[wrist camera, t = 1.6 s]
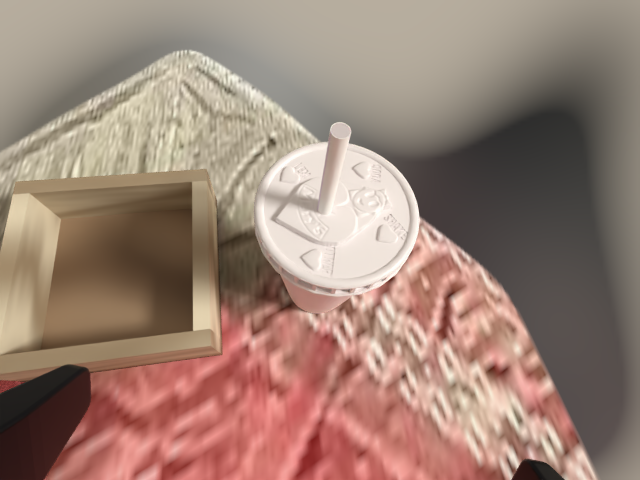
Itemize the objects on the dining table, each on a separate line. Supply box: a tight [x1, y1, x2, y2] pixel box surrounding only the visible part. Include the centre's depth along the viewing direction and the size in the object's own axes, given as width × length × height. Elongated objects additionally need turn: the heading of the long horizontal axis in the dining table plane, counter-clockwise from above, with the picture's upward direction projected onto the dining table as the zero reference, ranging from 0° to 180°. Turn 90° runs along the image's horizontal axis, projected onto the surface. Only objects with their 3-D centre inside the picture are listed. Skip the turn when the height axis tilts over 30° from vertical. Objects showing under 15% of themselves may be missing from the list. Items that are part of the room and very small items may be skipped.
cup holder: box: [0, 169, 222, 382], centre depth 20 cm, size 10×10×4 cm
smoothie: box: [254, 122, 419, 314], centre depth 16 cm, size 6×6×14 cm
